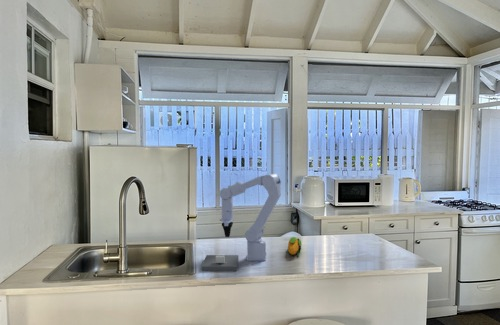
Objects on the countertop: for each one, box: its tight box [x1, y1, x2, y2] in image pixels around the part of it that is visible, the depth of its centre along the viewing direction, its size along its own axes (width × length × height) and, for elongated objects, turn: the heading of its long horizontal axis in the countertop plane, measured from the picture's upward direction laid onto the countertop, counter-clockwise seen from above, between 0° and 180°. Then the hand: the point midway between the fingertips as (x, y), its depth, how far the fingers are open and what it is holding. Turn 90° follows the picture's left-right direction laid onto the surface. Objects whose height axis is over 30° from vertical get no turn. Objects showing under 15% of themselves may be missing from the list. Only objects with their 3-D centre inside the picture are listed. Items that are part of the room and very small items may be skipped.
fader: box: [215, 254, 226, 263], centre depth 157 cm, size 4×2×3 cm, turn 90°
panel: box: [201, 254, 240, 272], centre depth 160 cm, size 16×16×2 cm
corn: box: [287, 236, 302, 256], centre depth 177 cm, size 7×8×20 cm
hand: (227, 236), depth 175 cm, fingers closed
